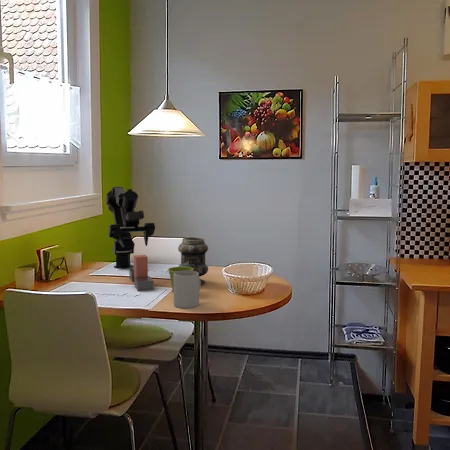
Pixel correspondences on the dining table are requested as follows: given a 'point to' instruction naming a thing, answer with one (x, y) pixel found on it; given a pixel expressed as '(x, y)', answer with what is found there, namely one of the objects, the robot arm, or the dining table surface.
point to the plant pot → (175, 269)
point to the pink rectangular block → (140, 266)
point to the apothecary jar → (194, 255)
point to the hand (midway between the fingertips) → (135, 246)
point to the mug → (186, 289)
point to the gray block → (141, 281)
